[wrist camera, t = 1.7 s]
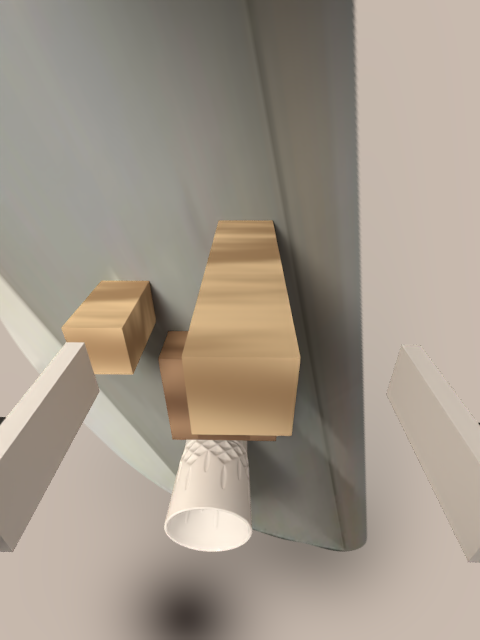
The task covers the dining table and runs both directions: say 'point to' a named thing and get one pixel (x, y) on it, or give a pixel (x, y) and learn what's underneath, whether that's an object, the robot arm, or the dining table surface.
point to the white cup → (211, 497)
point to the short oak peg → (114, 325)
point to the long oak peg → (242, 338)
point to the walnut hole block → (177, 393)
